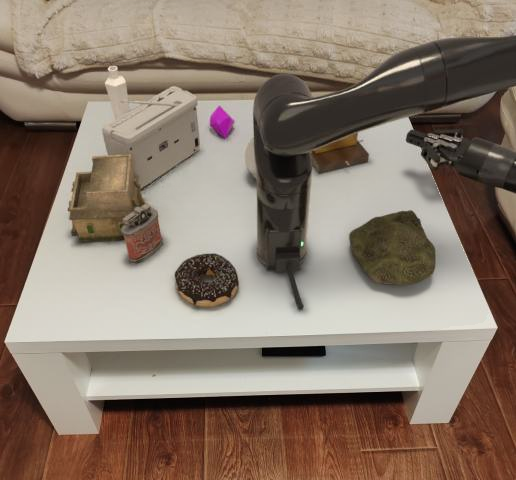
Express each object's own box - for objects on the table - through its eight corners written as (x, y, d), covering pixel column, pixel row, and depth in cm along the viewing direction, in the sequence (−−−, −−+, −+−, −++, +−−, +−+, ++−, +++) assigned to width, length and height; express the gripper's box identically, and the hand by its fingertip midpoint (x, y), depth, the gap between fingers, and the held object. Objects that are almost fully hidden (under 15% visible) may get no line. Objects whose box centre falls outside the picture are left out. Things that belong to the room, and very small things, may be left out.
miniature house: (150, 194, 120) (141, 146, 110) (147, 239, 111) (137, 192, 102) (78, 198, 119) (63, 150, 110) (70, 244, 110) (53, 196, 101)
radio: (179, 137, 132) (168, 50, 116) (205, 150, 129) (197, 62, 113) (112, 180, 122) (89, 92, 106) (138, 196, 119) (119, 107, 103)
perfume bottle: (113, 128, 134) (99, 65, 122) (131, 124, 136) (118, 61, 124) (119, 138, 132) (104, 75, 120) (137, 134, 133) (124, 71, 121)
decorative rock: (353, 299, 103) (355, 263, 95) (347, 236, 112) (348, 198, 104) (437, 294, 102) (446, 257, 94) (424, 231, 111) (431, 191, 102)
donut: (209, 255, 108) (208, 240, 105) (252, 288, 103) (251, 272, 100) (164, 285, 104) (161, 270, 101) (206, 321, 99) (204, 306, 95)
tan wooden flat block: (315, 153, 124) (318, 123, 119) (312, 150, 125) (315, 119, 120) (356, 144, 127) (361, 114, 121) (353, 140, 127) (357, 110, 122)
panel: (317, 180, 122) (318, 172, 120) (292, 144, 130) (292, 136, 128) (376, 166, 125) (378, 157, 123) (348, 132, 133) (349, 123, 131)
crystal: (207, 131, 133) (205, 113, 130) (221, 121, 136) (220, 103, 132) (224, 139, 131) (223, 121, 128) (238, 129, 134) (238, 111, 130)
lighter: (155, 236, 112) (146, 195, 104) (167, 243, 110) (160, 202, 102) (124, 258, 108) (113, 217, 100) (137, 266, 107) (126, 225, 99)
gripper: (507, 130, 111) (425, 103, 117) (481, 164, 105) (396, 134, 111) (494, 162, 117) (417, 136, 123) (470, 196, 111) (390, 167, 117)
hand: (407, 135), depth 117 cm, fingers closed
